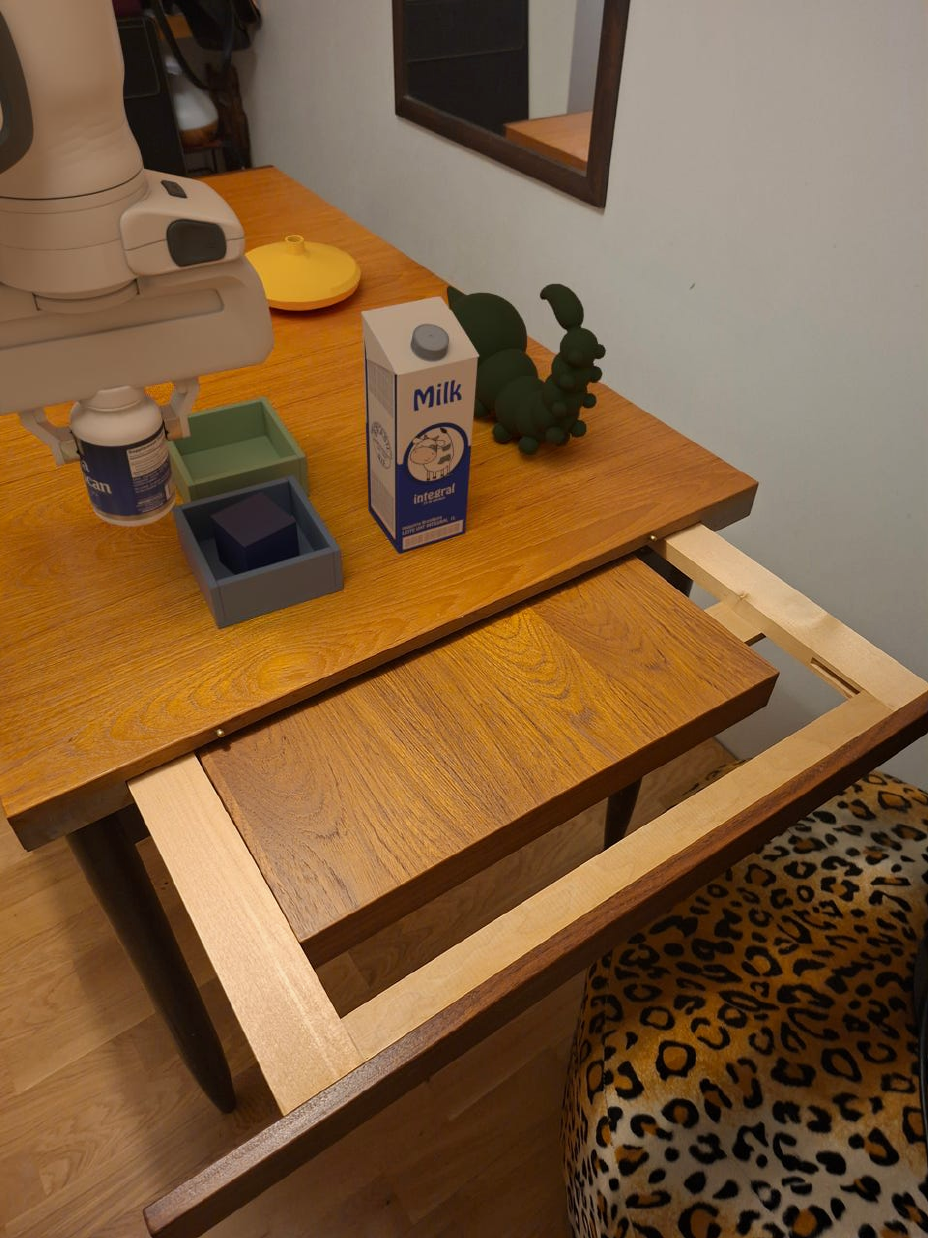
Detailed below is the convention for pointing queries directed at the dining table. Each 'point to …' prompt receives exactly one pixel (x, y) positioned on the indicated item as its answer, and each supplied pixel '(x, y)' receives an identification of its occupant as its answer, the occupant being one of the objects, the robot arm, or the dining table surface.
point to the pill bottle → (124, 456)
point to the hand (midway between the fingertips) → (124, 446)
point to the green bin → (235, 451)
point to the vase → (304, 273)
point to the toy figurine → (529, 368)
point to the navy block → (254, 534)
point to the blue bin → (267, 584)
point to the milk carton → (418, 420)
